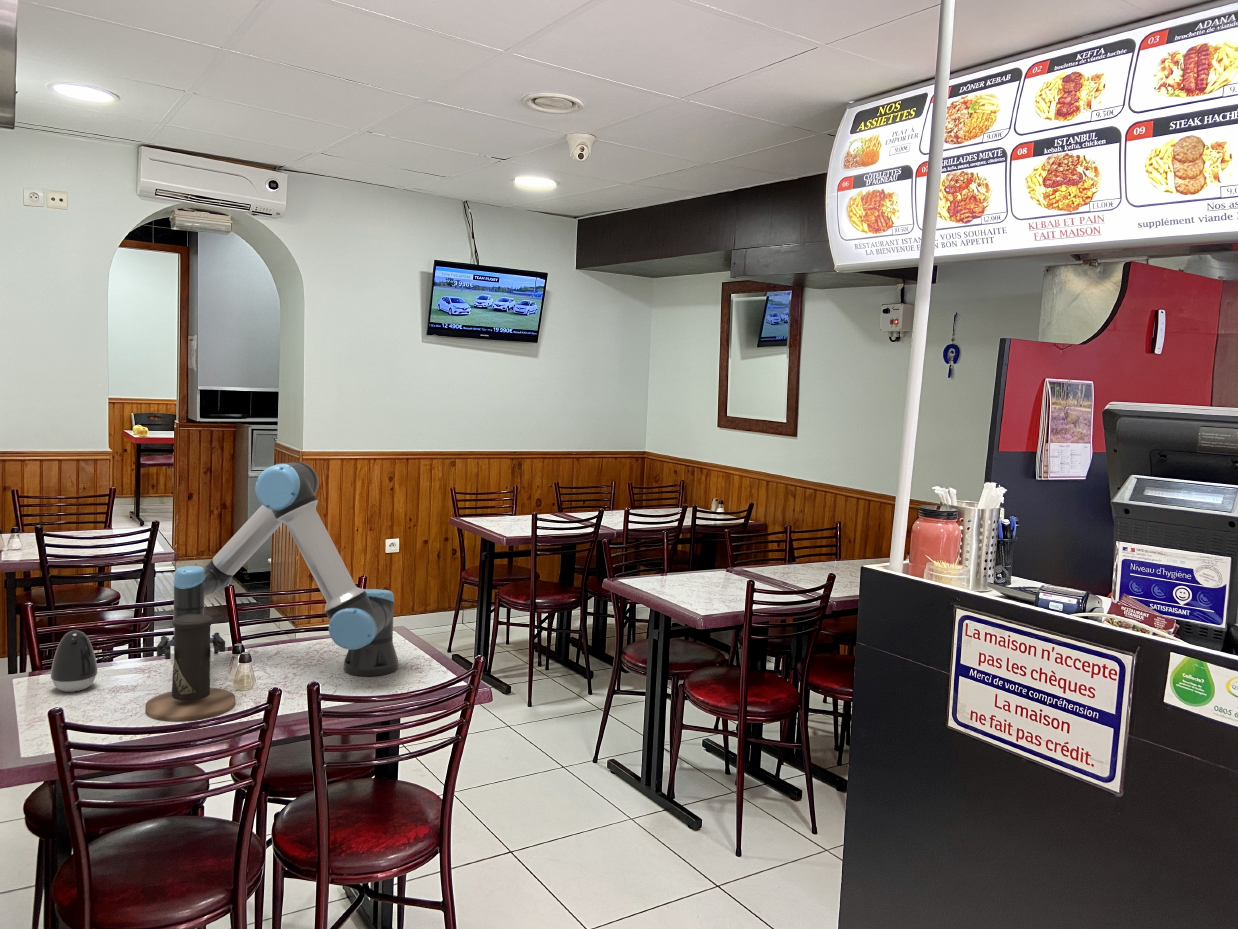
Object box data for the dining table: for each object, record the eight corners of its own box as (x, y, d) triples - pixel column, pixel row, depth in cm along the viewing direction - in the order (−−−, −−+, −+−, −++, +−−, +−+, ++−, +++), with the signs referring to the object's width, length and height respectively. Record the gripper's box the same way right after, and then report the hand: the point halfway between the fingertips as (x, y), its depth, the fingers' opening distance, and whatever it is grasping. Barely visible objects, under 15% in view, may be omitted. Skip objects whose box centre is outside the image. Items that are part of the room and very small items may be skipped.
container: (172, 691, 220) (173, 612, 219) (211, 688, 224) (213, 611, 223) (169, 703, 213) (171, 621, 211) (210, 700, 216) (212, 619, 215)
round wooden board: (251, 697, 227) (251, 691, 227) (204, 725, 207) (204, 718, 207) (179, 690, 230) (179, 684, 230) (126, 717, 210) (126, 710, 210)
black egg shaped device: (48, 697, 220) (48, 637, 219) (52, 685, 229) (53, 627, 228) (96, 693, 225) (96, 634, 224) (98, 680, 234) (98, 624, 233)
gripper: (232, 644, 238) (239, 668, 218) (144, 650, 229) (143, 676, 209) (232, 616, 238) (239, 638, 218) (145, 622, 228) (143, 645, 208)
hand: (192, 657), depth 213 cm, fingers closed on container, 8 cm apart
